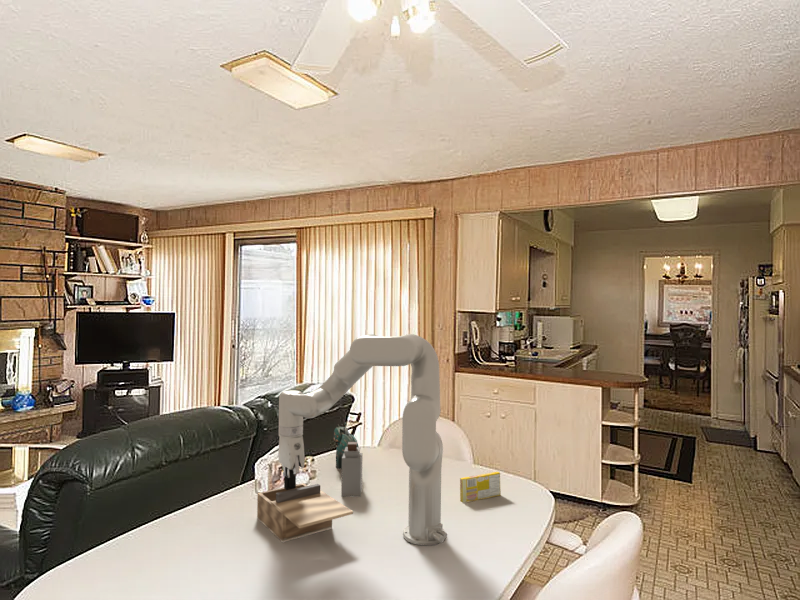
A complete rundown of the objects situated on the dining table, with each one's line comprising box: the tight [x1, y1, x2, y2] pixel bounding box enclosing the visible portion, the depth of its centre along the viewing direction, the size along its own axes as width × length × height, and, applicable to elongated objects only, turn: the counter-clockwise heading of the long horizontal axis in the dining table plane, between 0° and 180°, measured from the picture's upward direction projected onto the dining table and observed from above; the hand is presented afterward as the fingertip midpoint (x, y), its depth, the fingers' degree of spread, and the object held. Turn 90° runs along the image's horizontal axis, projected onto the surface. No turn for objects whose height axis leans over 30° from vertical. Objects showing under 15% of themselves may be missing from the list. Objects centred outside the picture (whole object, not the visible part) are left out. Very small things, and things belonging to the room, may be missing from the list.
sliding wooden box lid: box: [271, 483, 354, 528], centre depth 152 cm, size 20×17×3 cm
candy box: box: [459, 471, 502, 504], centre depth 184 cm, size 16×2×8 cm, turn 116°
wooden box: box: [256, 482, 333, 543], centre depth 162 cm, size 20×16×8 cm
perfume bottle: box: [340, 441, 363, 497], centre depth 188 cm, size 7×7×18 cm
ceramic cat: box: [333, 421, 361, 470], centre depth 210 cm, size 20×6×20 cm, turn 27°
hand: (289, 488), depth 164 cm, fingers closed
